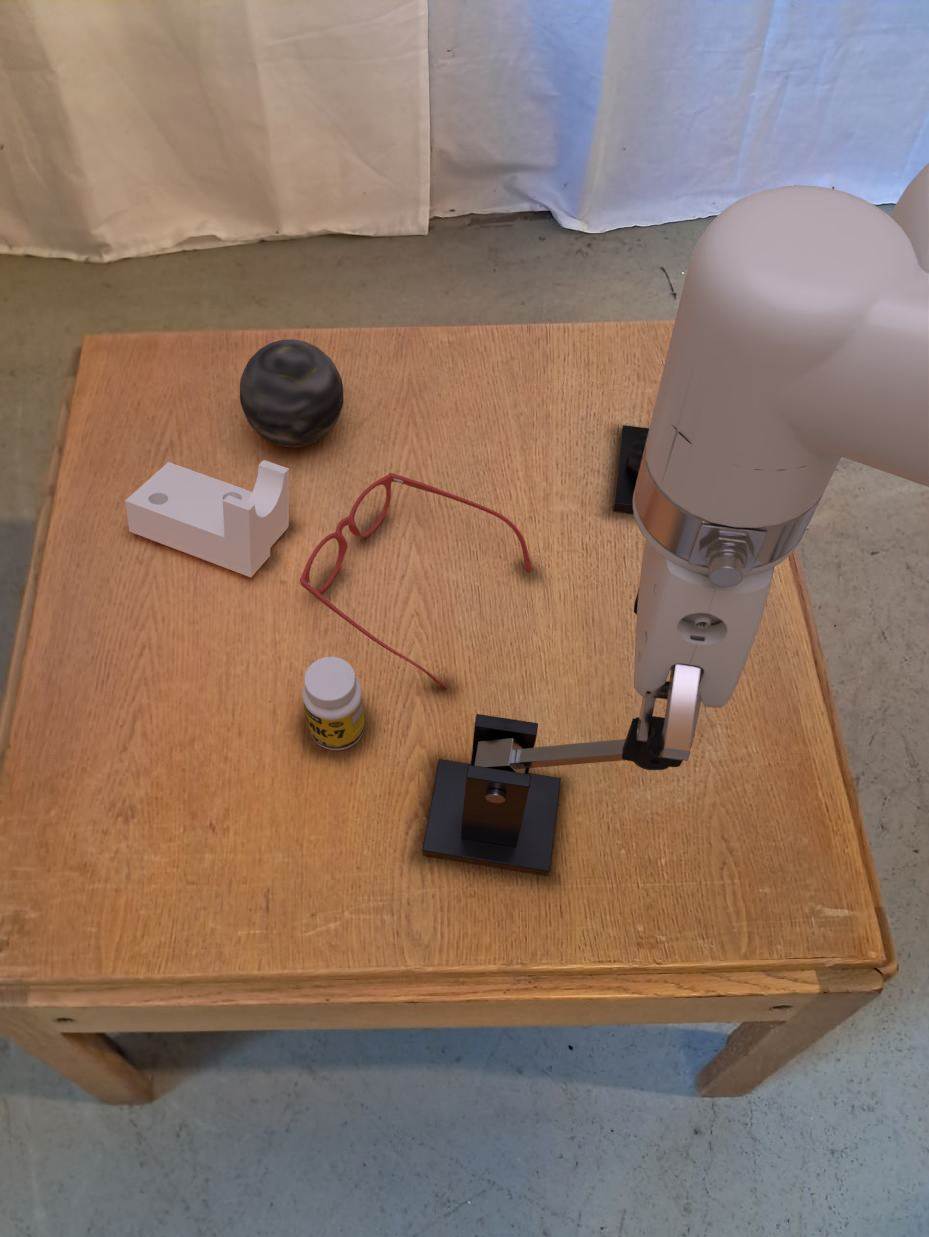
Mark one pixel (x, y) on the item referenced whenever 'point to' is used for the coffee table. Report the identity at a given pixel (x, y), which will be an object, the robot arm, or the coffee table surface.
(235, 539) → the bracket
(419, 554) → the coffee table surface
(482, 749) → the lever
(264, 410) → the decorative stone
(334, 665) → the supplement bottle
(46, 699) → the coffee table surface
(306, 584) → the red eyeglasses
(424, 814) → the coffee table surface
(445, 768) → the bracket
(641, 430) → the control block
